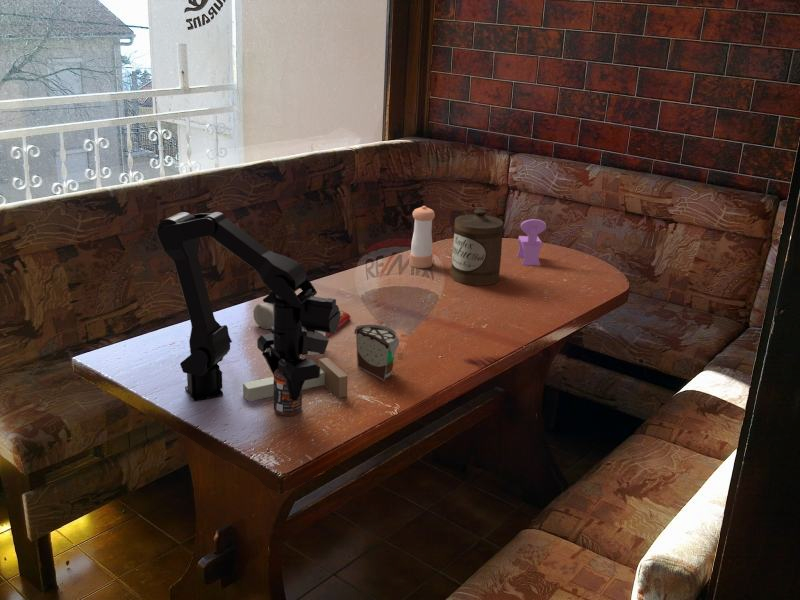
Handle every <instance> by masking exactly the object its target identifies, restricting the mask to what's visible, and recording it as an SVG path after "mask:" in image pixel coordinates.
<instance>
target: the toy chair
mask: <svg viewBox="0 0 800 600" xmlns="http://www.w3.org/2000/svg"><path fill="white" fill-rule="evenodd" d="M520 229H521V231H522V232H523V233H524V234H526V235H525V236H524V235H519V236H518V239H517V240H518V244H519V249H518V252H517V254H516V258H523V260H522V262H521V263H520V265H521V266H536V267H537V266H541V263H540V259H539V255H540V251H541V250H542V247H543V241H542V240H541V239H540V237H539V236H538V235H539V234H541V233H542V232H544V231H545V230H546V229H547V223H546V222H545V221H544V220H541V219H537V218H536V219H535V218H534V219H533V218H531V219H527V220H524V221H522V222H521V223H520Z"/></svg>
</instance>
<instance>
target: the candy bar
mask: <svg viewBox="0 0 800 600" xmlns="http://www.w3.org/2000/svg"><path fill="white" fill-rule="evenodd" d="M339 311H340V321H339V325H338V328H337V330H338V329H340V328H341V327H342V326H344V325H345V324H346V323H348V322H349V320H350V318H351V315H350V314H349V313H348V312H346V311H344V310H340V309H339ZM331 334H332V333H327V332H326V338H328V337H329V336H331Z"/></svg>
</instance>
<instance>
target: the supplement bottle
mask: <svg viewBox="0 0 800 600" xmlns="http://www.w3.org/2000/svg"><path fill="white" fill-rule="evenodd" d="M287 363H288V361H286V362H284V361H283V360H282V359H281V360H279V366H278V369H276V371H275V372H274V376H273V377H274V396H273V410H274V412H275V413H276V414H278V415H280V416H283V417H291V416H295V415H298V414H299V413H300V412H301V411H302V408H303V390H302V389H301V391H300V394H299V397H298V399H297V400H295V401H292V399H291V397H290V394H289V392H288V389H287V386H286V383H285V381H284V378H283V375H282V374H284V373H285V366H286V365H287Z"/></svg>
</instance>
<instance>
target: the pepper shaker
mask: <svg viewBox="0 0 800 600" xmlns="http://www.w3.org/2000/svg"><path fill="white" fill-rule="evenodd" d="M435 216H436V213H435V211H434V210H433V209H431V208H430V207H427V206H426V205H422V206H421V207H418V208H415V209H414V210H413V211H412V218H413V219H414V225H413V235H412V239H411V243H410V244H411V245H410V246H411V249H410V250H411V251H410V252H409V266H411V267H413V268H418V269H427V268H430V267H432V266H433V258H434V257H433V253H432V252H433V237H432V230H433V228H432V227H433V224H432V223H433V220H434V219H435Z"/></svg>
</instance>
